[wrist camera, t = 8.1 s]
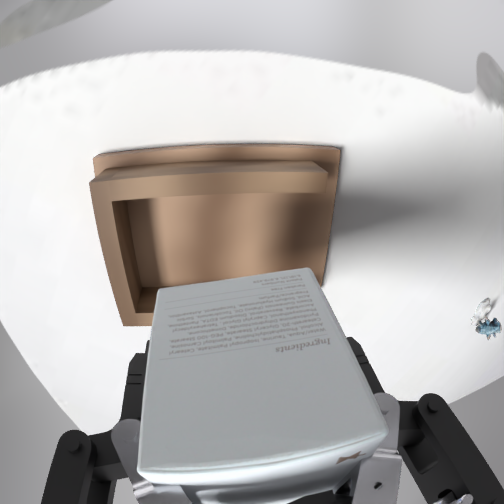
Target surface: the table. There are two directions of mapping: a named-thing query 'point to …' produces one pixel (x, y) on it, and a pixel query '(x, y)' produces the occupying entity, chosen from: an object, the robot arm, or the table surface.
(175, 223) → the U-rest
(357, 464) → the robot arm
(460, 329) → the table surface
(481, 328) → the sculpture
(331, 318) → the product box
